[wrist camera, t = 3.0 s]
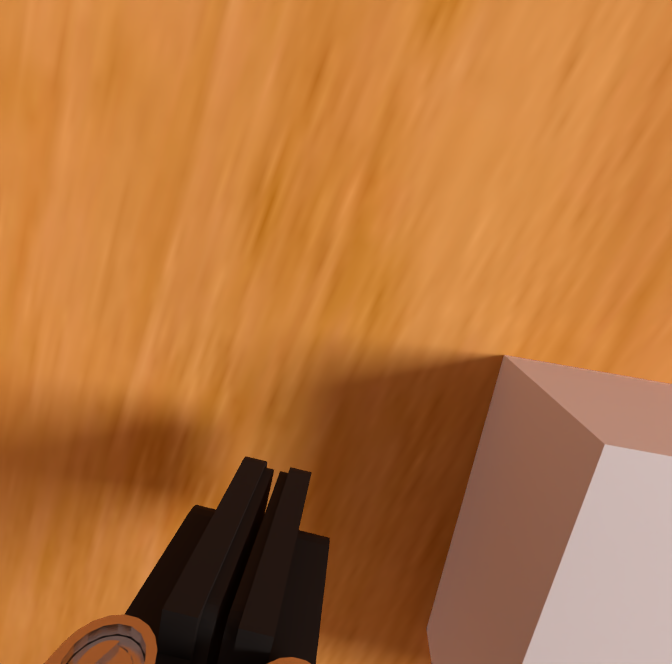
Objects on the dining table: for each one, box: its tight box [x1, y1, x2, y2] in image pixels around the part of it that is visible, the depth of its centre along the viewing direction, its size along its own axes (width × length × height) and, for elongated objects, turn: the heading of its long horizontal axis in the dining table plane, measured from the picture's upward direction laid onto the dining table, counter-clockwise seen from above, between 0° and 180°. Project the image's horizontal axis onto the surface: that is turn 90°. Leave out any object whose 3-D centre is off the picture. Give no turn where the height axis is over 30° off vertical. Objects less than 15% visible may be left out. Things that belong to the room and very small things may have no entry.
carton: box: [427, 355, 672, 664], centre depth 10 cm, size 8×10×5 cm
